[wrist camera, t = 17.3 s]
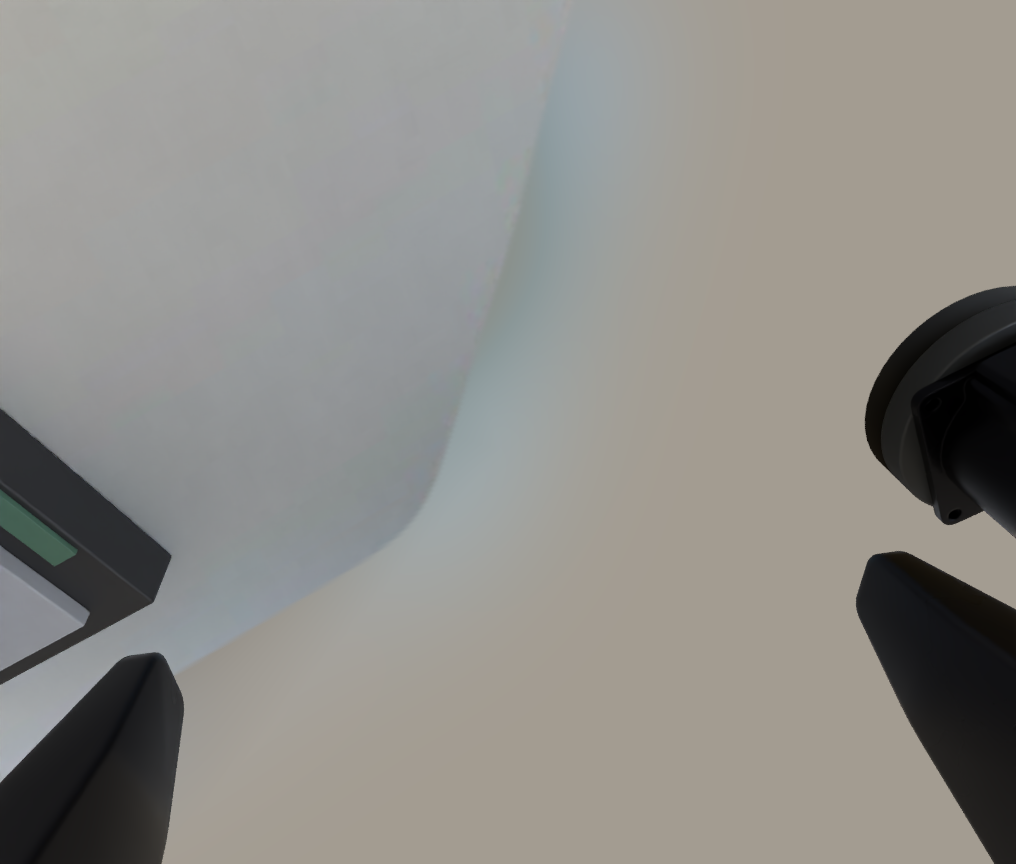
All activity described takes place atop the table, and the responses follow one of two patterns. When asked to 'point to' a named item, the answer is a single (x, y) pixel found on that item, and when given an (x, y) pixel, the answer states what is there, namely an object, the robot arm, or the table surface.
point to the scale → (62, 556)
